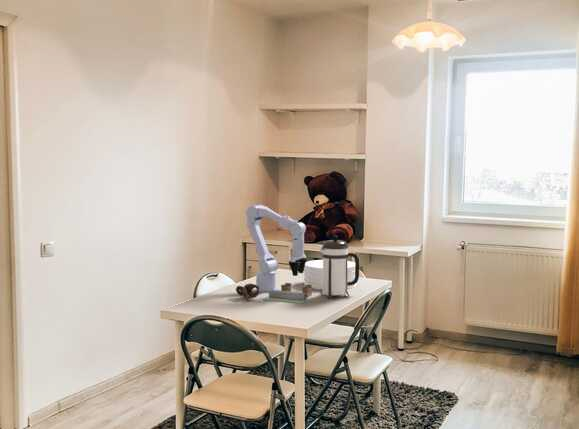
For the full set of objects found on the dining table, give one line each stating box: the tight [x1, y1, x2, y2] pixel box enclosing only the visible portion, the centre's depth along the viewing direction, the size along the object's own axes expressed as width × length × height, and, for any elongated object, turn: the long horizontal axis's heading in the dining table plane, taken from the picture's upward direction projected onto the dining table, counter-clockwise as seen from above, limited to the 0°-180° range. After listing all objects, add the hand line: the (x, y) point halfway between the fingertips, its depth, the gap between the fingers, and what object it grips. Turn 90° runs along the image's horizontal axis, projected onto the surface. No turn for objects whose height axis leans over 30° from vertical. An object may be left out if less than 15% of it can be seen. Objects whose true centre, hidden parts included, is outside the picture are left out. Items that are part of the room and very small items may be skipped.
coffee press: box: [319, 234, 360, 300], centre depth 307 cm, size 17×16×30 cm
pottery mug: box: [235, 283, 261, 302], centre depth 301 cm, size 12×10×8 cm
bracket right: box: [301, 285, 313, 298], centre depth 307 cm, size 3×6×5 cm, turn 157°
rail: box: [268, 289, 307, 302], centre depth 298 cm, size 18×3×3 cm
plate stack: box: [303, 259, 358, 291], centre depth 335 cm, size 28×28×12 cm
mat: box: [262, 294, 309, 304], centre depth 299 cm, size 20×8×1 cm, turn 67°
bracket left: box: [280, 282, 292, 292], centre depth 312 cm, size 3×6×5 cm, turn 158°
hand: (298, 274), depth 311 cm, fingers open, 7 cm apart
